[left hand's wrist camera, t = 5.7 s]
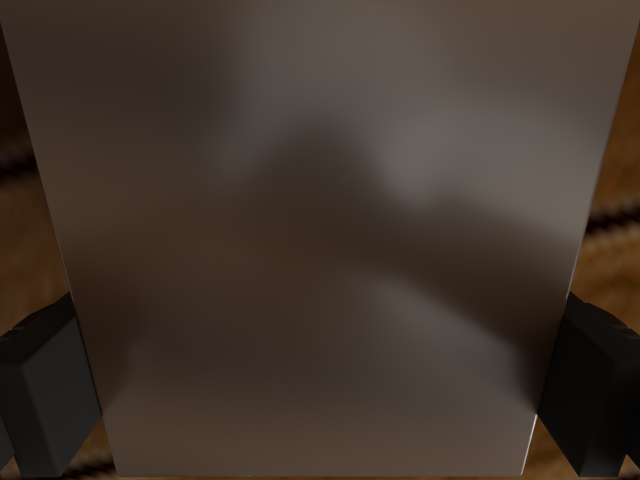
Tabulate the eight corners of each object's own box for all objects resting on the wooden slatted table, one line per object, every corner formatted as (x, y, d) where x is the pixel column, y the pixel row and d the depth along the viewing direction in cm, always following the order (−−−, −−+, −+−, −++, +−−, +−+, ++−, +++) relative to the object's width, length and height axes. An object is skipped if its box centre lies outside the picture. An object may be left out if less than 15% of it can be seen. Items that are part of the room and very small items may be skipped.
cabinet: (158, -205, 12) (-267, -986, 3) (481, -205, 12) (904, -983, 3) (213, 293, 19) (116, 477, 10) (426, 293, 19) (522, 477, 10)
